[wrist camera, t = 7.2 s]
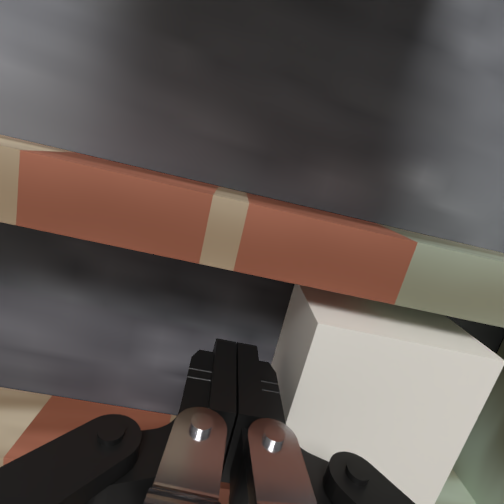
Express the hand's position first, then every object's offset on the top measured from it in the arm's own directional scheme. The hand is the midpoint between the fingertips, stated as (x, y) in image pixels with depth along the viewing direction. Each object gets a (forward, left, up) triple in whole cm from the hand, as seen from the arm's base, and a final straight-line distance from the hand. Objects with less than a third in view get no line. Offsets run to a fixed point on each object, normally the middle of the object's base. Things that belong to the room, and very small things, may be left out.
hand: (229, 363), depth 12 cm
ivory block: (0, +5, -2) cm, 5 cm away
